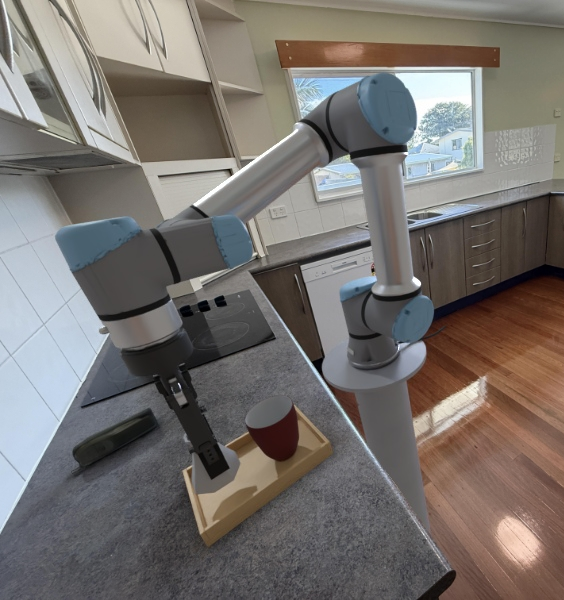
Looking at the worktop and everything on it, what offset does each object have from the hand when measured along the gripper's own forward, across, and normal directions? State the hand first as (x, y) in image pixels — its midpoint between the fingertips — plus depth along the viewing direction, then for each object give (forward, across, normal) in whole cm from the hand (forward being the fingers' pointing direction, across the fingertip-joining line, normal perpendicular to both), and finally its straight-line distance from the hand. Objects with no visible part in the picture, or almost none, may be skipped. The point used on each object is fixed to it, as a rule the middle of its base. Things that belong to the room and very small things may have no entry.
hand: (214, 460), depth 51 cm
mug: (+6, 0, +10) cm, 11 cm away
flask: (+3, 0, 0) cm, 3 cm away
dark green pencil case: (+7, -31, -15) cm, 35 cm away
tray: (+7, 0, +6) cm, 9 cm away
